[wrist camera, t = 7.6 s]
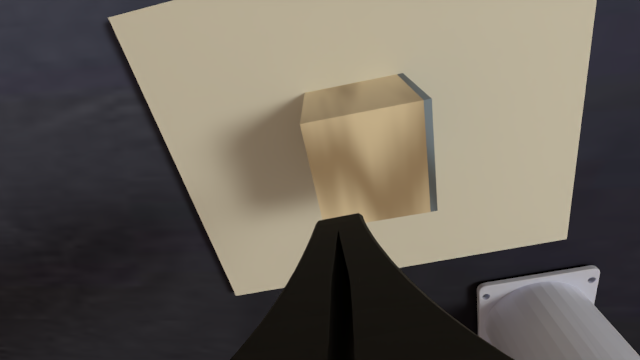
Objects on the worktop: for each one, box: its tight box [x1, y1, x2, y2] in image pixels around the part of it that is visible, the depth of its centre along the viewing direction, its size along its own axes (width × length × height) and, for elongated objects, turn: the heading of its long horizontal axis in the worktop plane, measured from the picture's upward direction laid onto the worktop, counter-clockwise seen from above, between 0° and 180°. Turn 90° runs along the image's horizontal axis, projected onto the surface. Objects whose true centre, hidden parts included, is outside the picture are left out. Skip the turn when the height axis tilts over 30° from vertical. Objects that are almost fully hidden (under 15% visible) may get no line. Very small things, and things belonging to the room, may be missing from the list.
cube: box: [300, 73, 438, 223], centre depth 16 cm, size 5×5×5 cm
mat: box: [108, 0, 596, 296], centre depth 19 cm, size 18×22×1 cm
